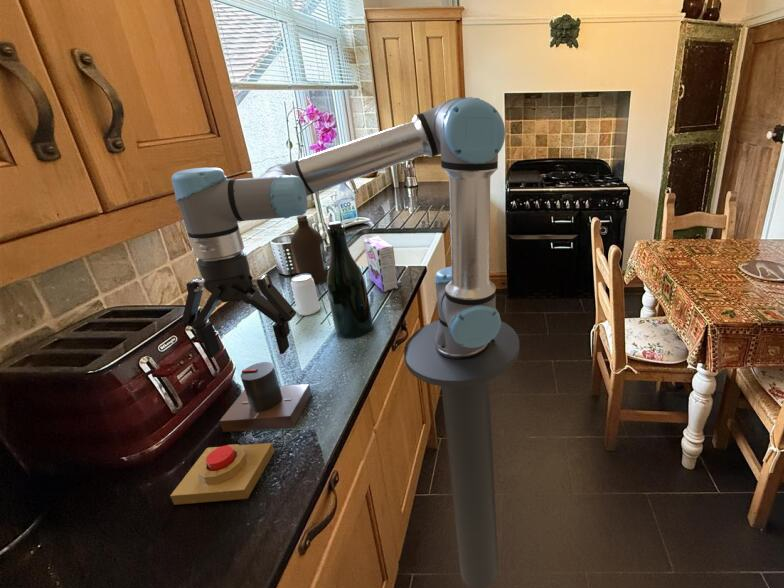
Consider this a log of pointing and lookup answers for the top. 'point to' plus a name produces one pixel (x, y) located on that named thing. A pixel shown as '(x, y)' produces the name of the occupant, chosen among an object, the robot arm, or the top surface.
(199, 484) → the switch block
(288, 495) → the top surface
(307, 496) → the top surface
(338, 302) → the dark green wine bottle
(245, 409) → the panel
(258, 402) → the dimmer knob
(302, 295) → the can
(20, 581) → the top surface
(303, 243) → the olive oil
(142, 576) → the top surface
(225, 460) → the light button
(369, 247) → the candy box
